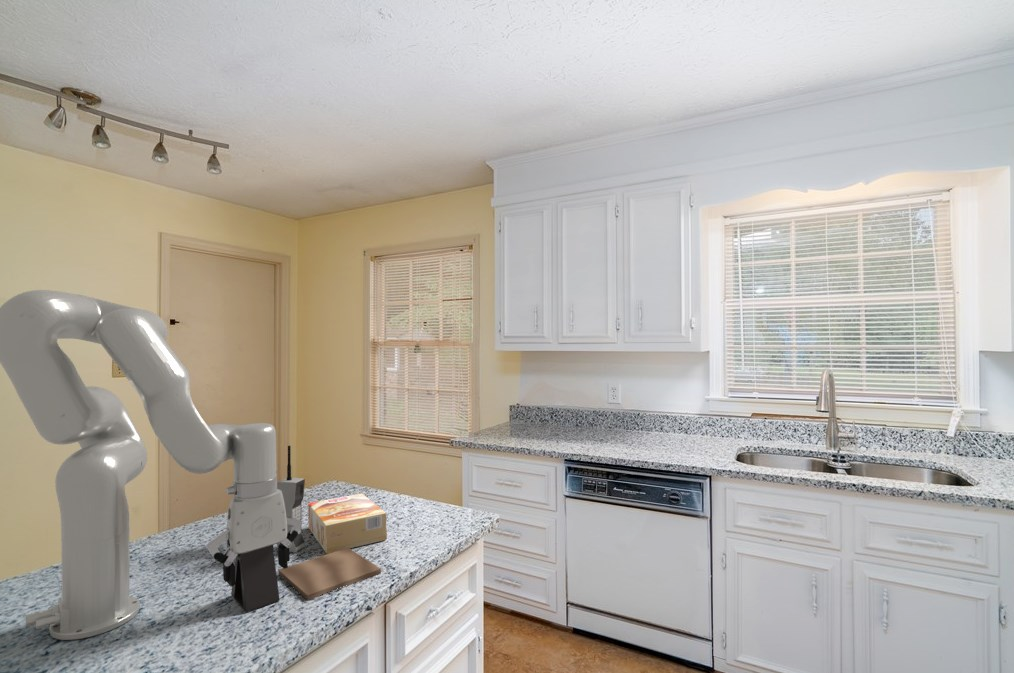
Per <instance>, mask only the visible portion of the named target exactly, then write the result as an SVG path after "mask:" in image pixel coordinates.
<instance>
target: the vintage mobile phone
mask: <svg viewBox="0 0 1014 673" xmlns="http://www.w3.org/2000/svg"><path fill="white" fill-rule="evenodd" d="M291 449H292V448H291V445H288V446H287V465H286V466H287V467H286V469H287V472H286V473H287V474H286V476H287V477H286V478H284V479H281V480H279V481H277V489H279V490H281V491H282V494H283V499H284V504H285V511H286V516H287V517H291V518H295V519H299V520H301V521H302V522H303V520H302V516H303V515H302V514H303V513H302V506H303V504H302V503H303V501H304V496H305V482H306V478H301V477H300V478H299V477H292V465H291V458H292V456H291V452H292V450H291ZM302 525H303V524H302ZM302 525H301V527H300V529H299V531H298V535H297V537H296V538H295V539H294V541H293V542H292V545H291V547H289V553H291V552H293V554H294V553H295V554H296V553H298V552H299V551H300V550H303V549H304V547H305V546H306V541H305V538H304V536H303V534H302V532H303V531H302ZM291 529H292V525H289V524H287V534H288V532H289V531H290V530H291ZM279 545H280V543H277V544H276V548H277V551H278V546H279ZM298 550H299V551H298Z"/></svg>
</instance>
